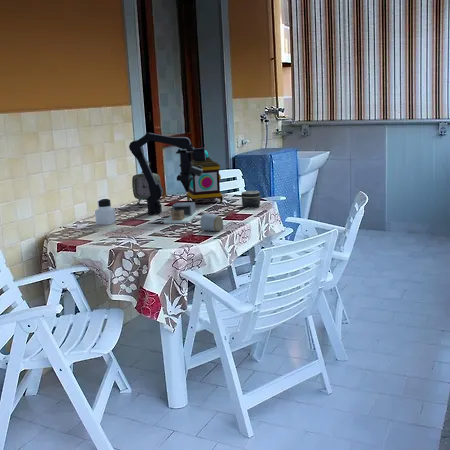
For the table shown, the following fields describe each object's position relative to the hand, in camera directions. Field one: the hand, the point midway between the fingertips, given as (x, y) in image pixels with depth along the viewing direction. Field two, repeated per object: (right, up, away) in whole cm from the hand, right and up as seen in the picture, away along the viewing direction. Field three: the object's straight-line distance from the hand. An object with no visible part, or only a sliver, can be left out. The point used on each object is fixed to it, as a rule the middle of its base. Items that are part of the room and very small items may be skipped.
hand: (187, 192), depth 314 cm
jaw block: (-3, -14, -20) cm, 24 cm away
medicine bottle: (-39, -16, -16) cm, 45 cm away
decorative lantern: (+8, -4, +31) cm, 32 cm away
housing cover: (-1, -11, -8) cm, 14 cm away
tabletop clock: (-24, -6, +30) cm, 39 cm away
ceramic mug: (+14, -20, -42) cm, 48 cm away
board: (-2, -14, -14) cm, 20 cm away
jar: (+33, -7, +10) cm, 36 cm away
